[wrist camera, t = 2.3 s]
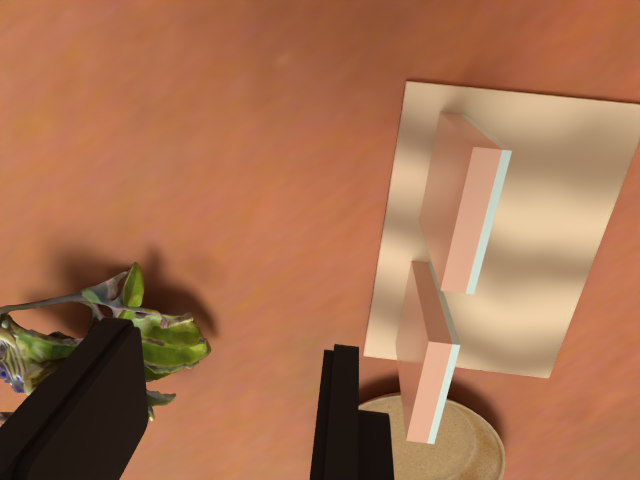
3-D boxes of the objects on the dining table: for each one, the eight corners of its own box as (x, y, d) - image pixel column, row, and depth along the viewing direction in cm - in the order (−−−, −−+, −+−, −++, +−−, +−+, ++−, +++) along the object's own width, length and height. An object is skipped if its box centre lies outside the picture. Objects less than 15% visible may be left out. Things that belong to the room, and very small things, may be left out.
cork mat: (405, 80, 27) (406, 81, 27) (646, 104, 27) (652, 105, 26) (363, 350, 36) (363, 355, 35) (545, 372, 35) (548, 378, 35)
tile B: (411, 260, 32) (428, 341, 23) (434, 263, 31) (460, 345, 23) (395, 343, 34) (406, 440, 26) (416, 346, 34) (434, 444, 26)
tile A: (439, 111, 27) (473, 146, 19) (466, 114, 27) (512, 150, 19) (418, 220, 30) (440, 290, 22) (443, 223, 30) (473, 294, 22)
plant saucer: (467, 510, 43) (473, 538, 40) (310, 481, 43) (307, 508, 40) (522, 390, 36) (533, 415, 34) (339, 356, 36) (337, 379, 34)
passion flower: (133, 305, 43) (-41, 371, 34) (150, 203, 36) (-64, 249, 27) (212, 408, 38) (34, 520, 29) (249, 312, 31) (31, 418, 22)
